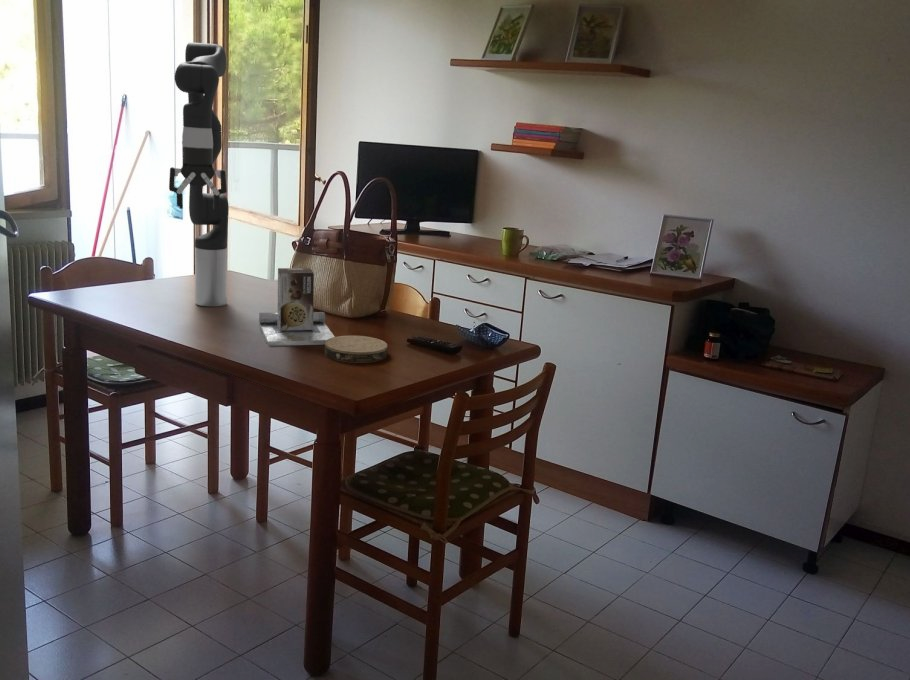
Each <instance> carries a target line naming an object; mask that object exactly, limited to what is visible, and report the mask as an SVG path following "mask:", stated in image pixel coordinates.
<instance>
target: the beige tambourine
mask: <svg viewBox="0 0 910 680" xmlns="http://www.w3.org/2000/svg"><path fill="white" fill-rule="evenodd" d="M387 354H388V343H387V342H386V341H385V340H382V339H379V338H375V337H373V336H366V335H341V336H340V335H339V336H335V337H333V338H330V339H328V340H326V341H325V345H324V355H325V356H326V357H327V358H329V359H332V360H335V361H338V362H344V363H345V362H346V363H351V364H352V363H353V364H356V363H357V364H363V363H365V364H367V363H374V362H375V363H376V362H379V361H382V360H384V359H386V358H387V356H388V355H387Z"/></svg>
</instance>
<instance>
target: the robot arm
mask: <svg viewBox="0 0 910 680" xmlns="http://www.w3.org/2000/svg"><path fill="white" fill-rule="evenodd" d="M184 56H185V62H181V63H180V64H178V66H176V69H175V72H174V83H175V85H176V87H177V89H178V90H179V91H181V92H183V93H186V94H187V96H188V97H187V98H188V99H187V100H188V103H185V104H184V105H183V107H182V126H183V127H182V135H181V136H182V137H181V140H182V141H181V145H182V146H181V147H182V148H181V149H182V150H181V151H182V154H181V155H182V164H181V165H182V166H181V168H178V167H177V168H176V167H172V166H171V167H170V168H169V180H168V182H169V185H168V189H169V191H170V192H173V193H175V194H176V205H177V207H179V209H182V210H183V205H184V204H183V203H184V202H183V200H184V199H183V197H184V196H183V191H184V190H185V189H186V188H187V187H188V185H189V192H188V193H189V194H188V195H189V197H188V198H189V199H188V211H189V212H188V213H189V218H190V222H191V223H192V224H193V225H195V226H196V225H197V226H198V225H199V226H200V225H201V226H213V228H212V229H211V230H209V231H208V232H206V233H203V234H201V235H199V236H196V238H195V239H194V267H195V268H194V277H195V279H194V281H195V282H194V283H195V288H194V292H195V297H194V298H195V299H194V301H195V302H194V303H195V305H198V306H201V307H221V306H222V307H223V306H225V305H227V303H228V301H227V300H228V227H229V210H230V209H229V207H230V206H229V201H228V198H227V196H226V195H225V193H227V175H226V170H224V169H220V170H219V169H217V170H216V169H214V163H215V161H216V160H217V159H218V157H219V155H220V153H221V150H222V146H223V144H222V143H223V141H222V140H223V139H222V138H223V137H222V136H223V134H222V133H223V132H222V125H221V122H220V121H221V120H220V119H219V117H218V116H217V114H216V112H214V110H213V104H214V100H215V96H216V94H217V90H218V86H219V82H220V78H221V77H223V76H224V75H225V73H226V71H227V55H226V50H225V49H224V47H223V46H222V45H220V44H216V43H205V42H204V43H203V42H188V43H187V44H186V46H185V55H184ZM179 174H181V175H182V177H183V178H184V180H183V181H182V182H181V183H180V184H179V186H178V187H176V186H175V181H176V178H177V177H178V175H179ZM215 175H216V176H217V178H218V179H220V188H217V187H216V186H215V184H214V182H212V179H213V177H215ZM205 186H208V187H209V189H210V190H211V192H213V193H203V190H204V187H205Z"/></svg>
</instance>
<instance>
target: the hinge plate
mask: <svg viewBox="0 0 910 680" xmlns="http://www.w3.org/2000/svg"><path fill="white" fill-rule="evenodd" d="M277 320H278V312H259V313H258V328H259V330H260V332H261V334H262V335H263V338H264V340H265V342H266V345H267V347H272V346H273V347H275V346H276V347H277V346H280V347H281V346H282V347H283V346H312V345H313V346H318V345H320V346H323V345H324V346H325V341H326V340H328V339H330V338H333V337H336V336H335V335H334V334H333V331H331V330H330V328H329V327H328V325H326V323H325V322H326V313H325V312H323V311H319V312H318V311H317V312H316V311H315V312H314V311H313V330H292V331H280V330H279V327H278V325H277Z"/></svg>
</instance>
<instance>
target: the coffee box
mask: <svg viewBox="0 0 910 680" xmlns="http://www.w3.org/2000/svg"><path fill="white" fill-rule="evenodd" d="M314 283H315V272H314V271H313V270H312V269H311V268H309V267H307V268H305V267H303V268H302V267H299V268H298V267H297V268H295V267H291V268H290V267H287V268H285V267H282V268H281V267H280V268H279V267H278V268H277V313H278V320H277V325H278V327H279V330H280V331H292V330H313V312H314V291H315V290H314V285H315V284H314Z"/></svg>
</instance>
